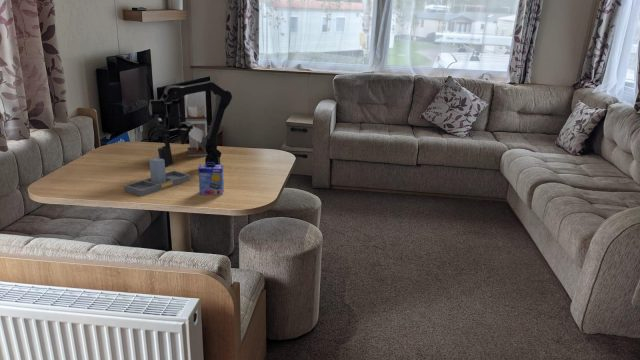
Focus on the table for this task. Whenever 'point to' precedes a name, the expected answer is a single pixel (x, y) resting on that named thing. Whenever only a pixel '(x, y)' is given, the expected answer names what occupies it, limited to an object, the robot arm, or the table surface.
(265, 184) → the table surface
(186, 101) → the display case
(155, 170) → the panel block
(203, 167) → the ink cartridge box
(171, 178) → the rack
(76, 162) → the table surface
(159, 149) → the speaker
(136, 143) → the table surface
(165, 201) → the table surface
